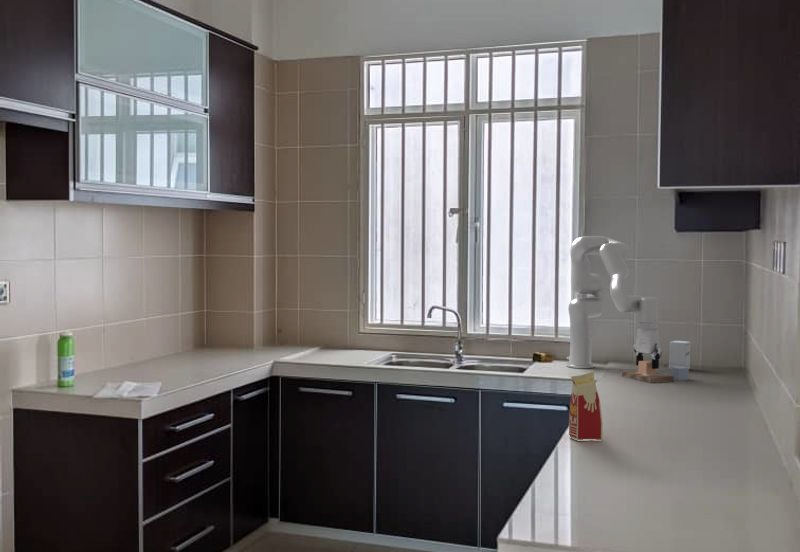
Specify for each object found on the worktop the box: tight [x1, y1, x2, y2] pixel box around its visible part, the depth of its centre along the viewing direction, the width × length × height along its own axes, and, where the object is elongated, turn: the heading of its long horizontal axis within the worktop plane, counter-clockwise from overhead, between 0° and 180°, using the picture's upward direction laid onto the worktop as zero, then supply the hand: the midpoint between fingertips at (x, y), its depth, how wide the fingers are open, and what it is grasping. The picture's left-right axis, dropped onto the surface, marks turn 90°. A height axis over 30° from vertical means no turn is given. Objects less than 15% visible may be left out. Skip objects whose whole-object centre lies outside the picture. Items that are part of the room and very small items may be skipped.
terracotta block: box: [637, 360, 657, 375], centre depth 343 cm, size 5×5×5 cm
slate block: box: [670, 366, 690, 381], centre depth 342 cm, size 5×5×5 cm
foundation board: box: [621, 369, 674, 384], centre depth 343 cm, size 18×12×2 cm, turn 23°
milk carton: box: [568, 370, 604, 441], centre depth 240 cm, size 9×9×20 cm
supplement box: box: [668, 340, 691, 370], centre depth 367 cm, size 7×7×13 cm
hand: (647, 366), depth 343 cm, fingers open, 9 cm apart
